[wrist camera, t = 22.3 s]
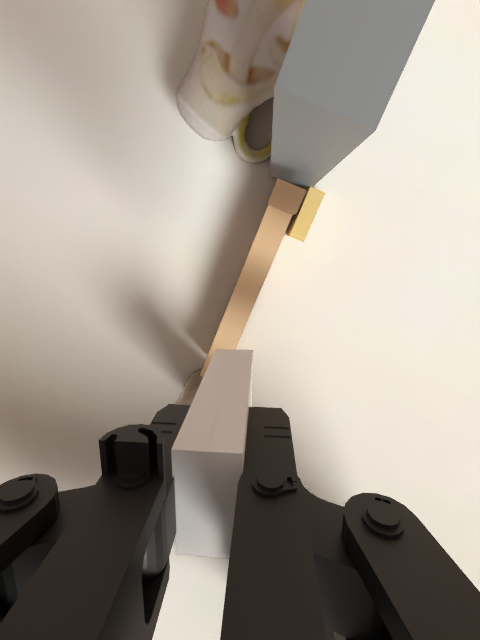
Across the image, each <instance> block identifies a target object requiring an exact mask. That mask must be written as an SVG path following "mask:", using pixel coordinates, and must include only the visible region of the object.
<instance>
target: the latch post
mask: <svg viewBox="0 0 480 640" xmlns="http://www.w3.org/2000/svg"><path fill="white" fill-rule="evenodd" d="M434 1H435V0H306V1H305V4H304V7H303V10H302V12H301V15H300V18H299V21H298V23H297V26H296V29H295V32H294V34H293V37H292V40H291V43H290V45H289V48H288V51H287V54H286V56H285V59H284V62H283V65H282V67H281V70H280V73H279V76H278V78H277V81H276V84H275V87H274V103H273V123H272V143H271V163H270V176H272V177H274V178H279V179H281V180H283V181H286V182H288V183H290V184H293V185H295V186H297V187H300V188H302V189H305V190H306V193H305V195H304V197H303V200H302V202H301V204H300V207H299V209H298V211H297V213H296V216H295V218H294V221H293V223H292V225H291V228H290V230H289V232H288V236H290V237H293V238H295V239H298V240H300V241H303V242H304V240H305V238H306V236H307V233H308V231H309V229H310V226H311V224H312V222H313V220H314V217H315V215H316V213H317V210H318V208H319V206H320V204H321V201H322V199H323V197H324V195H325V193H324V192H322V191H320V190H317V189H315V188H312V187H313V186H314V185H315V184H316V183H317V182H318V181H319V180H321V179H322V178H323V177H324V176H325V175H326V174H327V173H328V172H330V171H331V170H332V169H333V168H334V167H335V166H336V165H337V164H338V163H340V162H341V161H342V160H343V159H344V158H345V157H346V156H347V155H349V154H350V153H351V152H352V151H353V150H354V149H355V148H356V147H357V146H359V145H360V144H361V143H362V142H363V141H364V140H365V139H366V138H367V137H369V136H370V135H371V134H372V133H373V132H374V131H375V130H376V128H377V126H378V124H379V122H380V120H381V117H382V115H383V113H384V111H385V109H386V106H387V104H388V102H389V100H390V98H391V95H392V93H393V91H394V89H395V87H396V85H397V82H398V80H399V78H400V76H401V74H402V71H403V69H404V67H405V65H406V63H407V60H408V58H409V56H410V54H411V52H412V50H413V47H414V45H415V43H416V41H417V39H418V36H419V34H420V32H421V30H422V28H423V25H424V23H425V21H426V19H427V17H428V15H429V12H430V10H431V8H432V6H433V4H434Z"/></svg>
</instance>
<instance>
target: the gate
mask: <svg viewBox="0 0 480 640" xmlns="http://www.w3.org/2000/svg"><path fill="white" fill-rule="evenodd" d="M305 193H306V190H305V189H302V188H300V187H297V186H295V185H293V184H290V183H288V182H286V181H283V180H281V179H279V178H277V181H276V183H275V186H274V188H273V191H272V193H271V196H270V198H269V201H268V207H267V209H266V212H265V214H264V217H263V219H262V222H261V224H260V227H259V229H258V232H257V234H256V237H255V239H254V242H253V244H252V246H251V249H250V251H249V254H248V256H247V259H246V261H245V264H244V266H243V269H242V271H241V274H240V276H239V279H238V281H237V284H236V286H235V289H234V291H233V294H232V296H231V299H230V301H229V304H228V306H227V309H226V311H225V314H224V316H223V319H222V321H221V324H220V326H219V329H218V331H217V333H216V336H215V338H214V341H213V343H212V346H211V348H210V351H209V353H208V356H207V358H206V361H205V363H204V366H203V368H202V371H201V373H200V375H201V376H203V377H204V375H205V372H206V370H207V368H208V366H209V363H210V361H211V359H212V356H213V354H214V352H215V350H216V349H230V350H235V349H236V346H237V344H238V342H239V339H240V337H241V335H242V332H243V330H244V328H245V325H246V323H247V321H248V318H249V316H250V314H251V311H252V309H253V307H254V304H255V302H256V299H257V297H258V295H259V292H260V290H261V288H262V285H263V283H264V281H265V278H266V276H267V274H268V271H269V269H270V267H271V264H272V262H273V260H274V257H275V255H276V253H277V250H278V248H279V246H280V243H281V241H282V239H283V236H284V234H285V232H286V229H287V227H288V225H289V222H290V220H291V218H292V215H294V214H296V213H297V211H298V209H299V207H300V204H301V202H302V200H303V197H304V195H305Z"/></svg>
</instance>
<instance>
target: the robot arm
mask: <svg viewBox="0 0 480 640" xmlns="http://www.w3.org/2000/svg"><path fill="white" fill-rule="evenodd" d="M252 377H253V350H230V349H216V350H215V352H214V354H213V356H212V359H211V361H210V363H209V366H208V368H207V370H206V372H205V375H204V377H203V379H202V381H201V384H200V386H199V388H198V390H197V393H196V395H195V397H194V399H193V402H192V404H191V405H177V404H169V405H167V406H166V407H164V408H163V409H161V410H160V411H158V412H157V414H156V415H155V417H154V419H153V420H152V422H151V424H150V425H143V424H138V425H128V426H124V427H120V428H117V429H115V430H113V431H111V432H108V433H107V434H105V435H104V436H103V437H102V438H101V439H100V440H99V448H100V458H101V468H102V476H101V477H100V479H99V480H98V482H97V483H96V485H93V486H89V487H85V488H79V489H73V490H67V491H61V492H58V487H57V484H56V481H55V479H54V478H52V477H50V476H49V475H45V474H31V475H24V476H20V477H17V478H15V479H12V480H9V481H7V482H5V483H3V484H1V485H0V640H152V637H153V634H154V630H155V627H156V623H157V619H158V616H159V612H160V609H161V605H162V601H163V598H164V594H165V591H166V587H167V584H168V580H169V570H170V565H169V555H170V551H171V548H172V545H173V541H174V538H175V554H177V555H190V556H203V557H216V558H228V559H229V567H228V576H227V585H226V594H225V602H224V611H223V620H222V629H221V638H220V640H480V592H479V591H478V589H477V588H476V587H475V586H474V585H473V583H472V582H471V581H470V580H469V579H468V577H467V576H466V575H465V574H464V573H463V572H462V570H461V569H460V568H459V567H458V566H457V564H456V563H455V562H454V561H453V560H452V558H451V557H450V556H449V555H448V554H447V552H446V551H445V550H444V549H443V548H442V546H441V545H440V544H439V543H438V542H437V541H436V539H435V538H434V537H433V536H432V535H431V533H430V532H429V531H428V530H427V529H426V527H425V526H424V525H423V524H422V523H421V521H420V520H419V519H418V518H417V517H416V516H415V515H414V514H413V513H412V512H411V511H410V510H409V509H408V508H407V507H406V506H404V505H403V504H401V503H399V502H397V501H396V500H394V499H392V498H390V497H387V496H383V495H380V494H376V493H361V494H358V495H355V496H352V497H351V498H350V499H349V500H348V501H347V502H346V503H345V507H343V506H340V505H336V504H333V503H330V502H327V501H325V500H322V499H320V498H318V497H316V496H315V495H313V494H311V493H310V492H309V491H308V490H307V489H306V488H304V487H303V485H302V483H301V481H300V478H299V477H298V476H297V472H296V464H295V457H294V450H293V443H292V435H291V430H290V421H289V417H288V416H287V414H286V413H285V412H284V411H283V410H282V409H281V408H265V407H252Z"/></svg>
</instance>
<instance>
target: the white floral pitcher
mask: <svg viewBox="0 0 480 640" xmlns="http://www.w3.org/2000/svg"><path fill="white" fill-rule="evenodd" d="M305 1H306V0H208V5H207V10H206V15H205V20H204V25H203V30H202V35H201V39H200V44H199V48H198V50H197V53H196V56H195V58H194V61H193V63H192V65H191V67H190V68H189V70H188V72H187V73H186V75H185V77H184V79H183V80H182V82H181V83H180V85H179V86H178V88H177V91H176V96H177V105H178V109H179V112H180V114H181V116H182V117H183V119H184V120H185V121H186V123H187V124H188V125H189V126H190V127H191V128H192V129H193V130H194V131H195V132H196V133H197V134H198V135H199V136H201V137H202V138H204V139H206V140H210V141H220V140H225V139H227V138H229V137H230V136H233V141H234V147H235V151H236V152H237V154H238V155H239V157H240V158H241V159H243V160H245V161H248V162H262V161H265V160H266V159H268V158H269V157H270V156H271V143H272V140H271V141H270V142H269V144H268V145H267V146H266V147H265V148H263V149H259V150H255V149H253V148H251V147H250V146H249V145H248V144H247V142H246V140H245V131H246V129H247V126H248V122H249V115H250V113H251V111H252V110H253V109H254V108H256V107H257V106H259V105H261V104H262V103H264V102H265V101H267V100H269V99H270V98H272V97H274V87H275V84H276V81H277V78H278V76H279V73H280V70H281V67H282V65H283V62H284V59H285V56H286V54H287V51H288V48H289V45H290V43H291V40H292V37H293V34H294V32H295V29H296V26H297V23H298V21H299V18H300V15H301V12H302V10H303V7H304V4H305Z"/></svg>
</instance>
